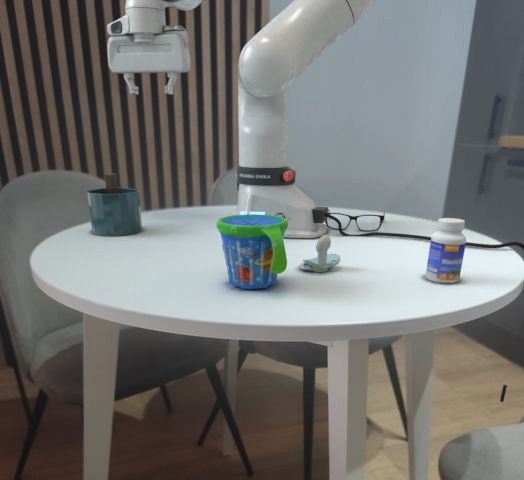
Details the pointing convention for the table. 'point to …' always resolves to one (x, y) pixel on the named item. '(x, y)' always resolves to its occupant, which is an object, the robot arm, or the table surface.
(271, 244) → the snack cup
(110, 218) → the canister
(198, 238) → the table surface
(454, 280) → the pill bottle
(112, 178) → the scrubber
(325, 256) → the pacifier
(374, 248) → the table surface
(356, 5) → the robot arm
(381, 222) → the eyeglasses
